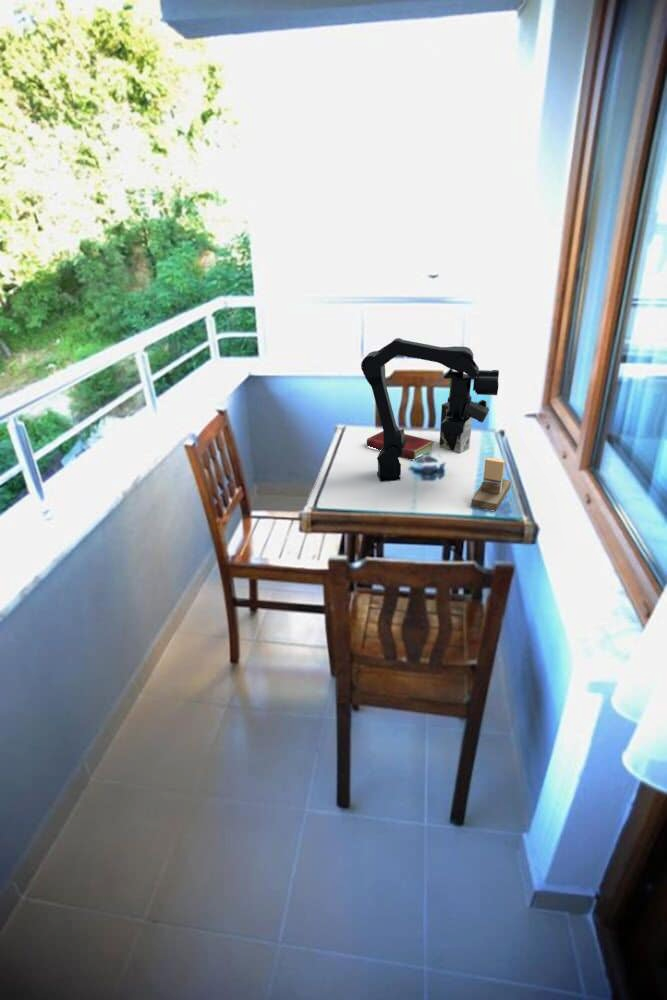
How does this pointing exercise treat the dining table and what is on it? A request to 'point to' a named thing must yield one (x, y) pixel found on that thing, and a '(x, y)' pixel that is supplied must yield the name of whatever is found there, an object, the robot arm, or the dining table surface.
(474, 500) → the stand
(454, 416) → the robot arm
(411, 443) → the hardcover book
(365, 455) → the dining table surface
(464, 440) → the coffee box
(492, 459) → the stub
